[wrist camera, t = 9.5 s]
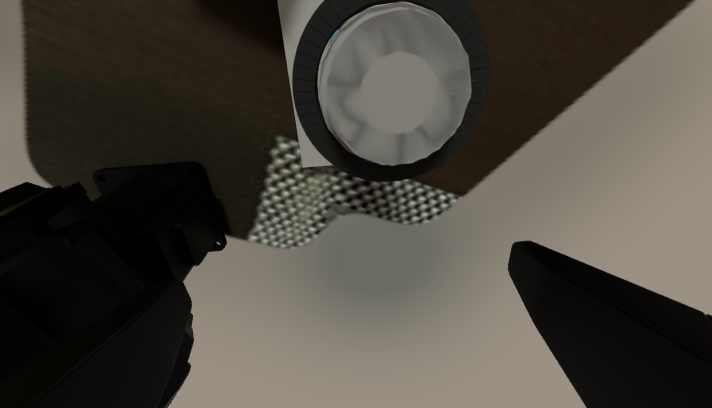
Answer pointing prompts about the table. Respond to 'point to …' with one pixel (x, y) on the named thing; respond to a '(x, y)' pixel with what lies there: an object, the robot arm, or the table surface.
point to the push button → (390, 84)
